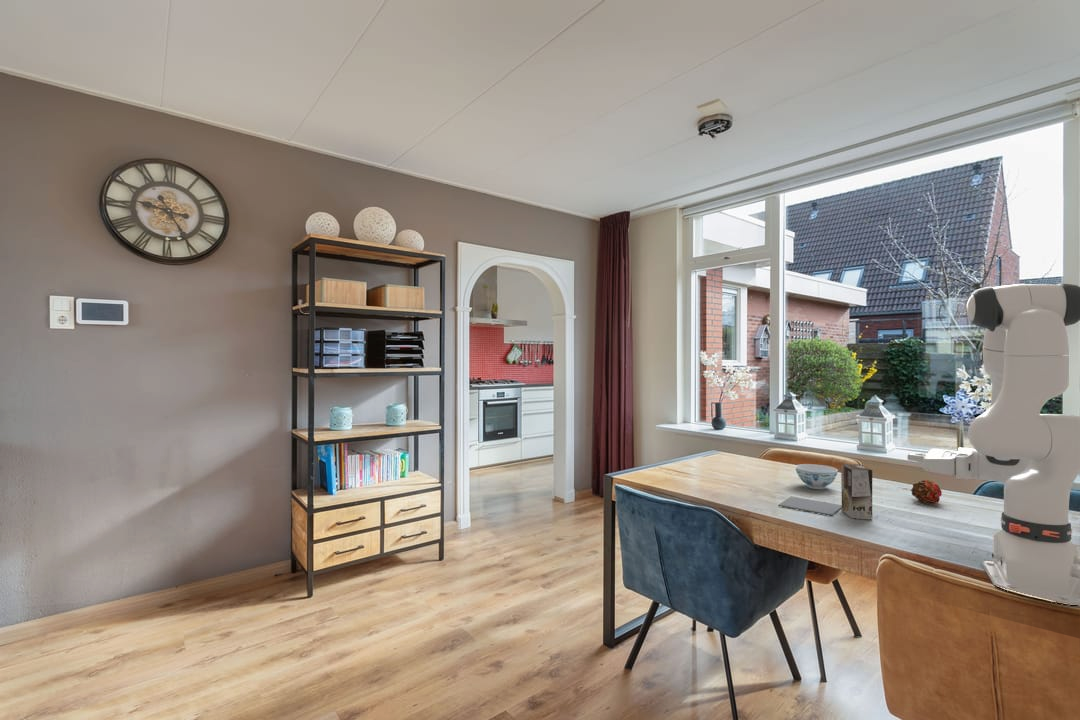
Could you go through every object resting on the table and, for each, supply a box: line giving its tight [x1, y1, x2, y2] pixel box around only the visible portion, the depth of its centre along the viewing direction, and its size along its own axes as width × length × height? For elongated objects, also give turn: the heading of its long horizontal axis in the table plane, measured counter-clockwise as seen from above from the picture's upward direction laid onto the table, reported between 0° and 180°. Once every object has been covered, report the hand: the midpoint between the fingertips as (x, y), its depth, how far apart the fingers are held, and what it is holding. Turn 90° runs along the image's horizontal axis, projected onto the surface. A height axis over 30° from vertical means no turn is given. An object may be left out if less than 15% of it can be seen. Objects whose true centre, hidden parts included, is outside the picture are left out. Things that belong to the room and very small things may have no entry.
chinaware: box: [795, 463, 839, 490], centre depth 204 cm, size 15×15×8 cm
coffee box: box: [840, 463, 873, 520], centre depth 169 cm, size 9×6×16 cm
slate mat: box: [777, 496, 842, 517], centre depth 178 cm, size 14×17×1 cm
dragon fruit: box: [910, 479, 943, 504], centre depth 183 cm, size 8×8×12 cm
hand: (908, 456), depth 159 cm, fingers closed
